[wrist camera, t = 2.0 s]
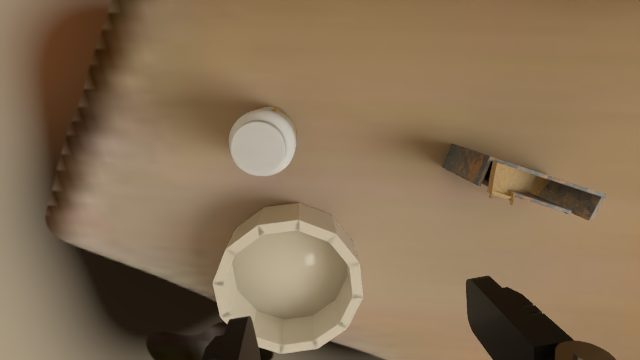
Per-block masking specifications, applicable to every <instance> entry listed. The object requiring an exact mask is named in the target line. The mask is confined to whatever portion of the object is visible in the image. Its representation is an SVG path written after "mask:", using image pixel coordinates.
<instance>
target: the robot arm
mask: <svg viewBox="0 0 640 360" xmlns="http://www.w3.org/2000/svg"><path fill="white" fill-rule="evenodd" d="M466 296H467V315H468V321H469V324H470V327H471V329H472V331H473V333H474V335H475V336H476V337H477V339H478V340H479V341H480V343H481V344H482V345H483V347H484V348H485V349H486V351H487V352H488V354H489V355H490V356H491V358H492V359H493V360H616V359H615V358H614V357H613V356H612V355H611V354H610V353H608V352H607V351H605V350H604V349H602V348H600V347H598V346H595V345H593V344H590V343H586V342H582V341H574V340H573V339H572V338H571V337H570V336H569V335H567V334H566V333H565V332H564V331H563V330H562V329H561V328H560V327H558V326H557V325H556V324H555V323H554V322H553V321H552V320H551V319H549V318H548V317H547V316H546V315H545V314H542V312H541V311H540V310H539V309H538V308H537V307H536V306H533V303H531V302H530V301H529V300H528V299H527V298H526V297H525V296H523V295H522V294H521V293H518V292H516V291H514V290H512V289H510V288H508V287H505V288H502V287H501V286H500V285H498V284H497V283H496V282H495V281H494V280H493V279H492V278H491V277H490V276H484V277H478V278H472V279H468V280H467V281H466ZM202 360H260V352H259V347H258V343H257V339H256V334H255V330H254V326H253V321H252V318H251V316H245V317H240V318H234V319H230V320H229V321H228V324H227V327H226V330H225V333H224V335H221V336H215V338H214V339H213V340H212V341H211V342H210V344H209V345H208V346H207V347H206V349H205V351H204V354H203V357H202Z"/></svg>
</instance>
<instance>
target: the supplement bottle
mask: <svg viewBox="0 0 640 360" xmlns="http://www.w3.org/2000/svg"><path fill="white" fill-rule="evenodd" d="M296 140H297V131H296V127H295V124H294V122H293V120H292V118H291V117H290V116H289V115H288V114H287V113H286V112H284V111H283V110H281V109H279V108H276V107H261V108H258V109H256V110H253V111H250V112H248V113H246V114H244V115H242V116H241V117H240V118H239V119H238V120H237V121H236V122H235V123H234V125H233V127H232V129H231V131H230V135H229V149H230V152H231V156H232V158H233V160H234V162H235V164H236V165H237V166H238V167H239V168H240V169H241V170H243V171H244V172H246V173H248V174H251V175H256V176H270V175H274V174H276V173H279V172H280V171H282V170H283V169H285V168H286V167H287V166H288V164H289V163H290V162H291V160H292V158H293V156H294V153H295V149H296Z"/></svg>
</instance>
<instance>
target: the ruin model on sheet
mask: <svg viewBox="0 0 640 360" xmlns="http://www.w3.org/2000/svg"><path fill="white" fill-rule="evenodd" d="M491 161H493V163H492V167H491V172H490V178H486V177H485V174H486V172H487V170H488V168H489V165H490V163H491ZM443 168H445V169H447V170H449V171H451V172H453V173H455V174H456V175H458V176H460V177H462V178H464V179H466V180H468V181H470V182H472V183H474V184H476V185H478V186H481V183H482V184H484V185H486V186H488V191H487V192H489V193H490V196H489V198H491V199H492V195H494V196H498V197H501V198H504V199H507V200H510V201H511V202H510V204H511V205H513V204H514V196H515V197H518V198H521V199H524V200H528V201H531V202H534V203H537V204H540V205H543V206H547V207H550V208H553V209H556V210H559V211H562V212H564V213H567V214H571V213H573V214H575V215H577V216H580V217H582V218H584V219H586V220H589V221H592V220H593V219H594V217H595V215H596V213H597V211H598V209H599V207H600V205H601V204H602V202H603V200H604V198H605V196H606V194H603V193H600V192H597V191H594V190H591V189H588V188H585V187H582V186H579V185H576V184H573V183H570V182H567V181H564V180H560V179H557V178H554V177H551V176H548V175H545V174H542V173H539V172H536V171H533V170H530V169H527V168H524V167H521V166H518V165H515V164H512V163H509V162H506V161H503V160H500V159H497V158H494V157H491V156H488V155H485V154H482V153H479V152H476V151H473V150H470V149H467V148H463V147H460V146H457V145H454V144H452V146H451V148H450V150H449V153H448V155H447V158H446V160H445V163H444V165H443Z"/></svg>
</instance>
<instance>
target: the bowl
mask: <svg viewBox="0 0 640 360" xmlns="http://www.w3.org/2000/svg"><path fill="white" fill-rule="evenodd" d="M213 288H214V292H215V296H216V301H217V305H218V309H219V314H220V317H221V319H222V320H224V322H225V323H226V324H228V321H229V320H230V319H234V318H240V317H245V316H251V318H252V321H253V326H254V330H255V334H256V339H257V343H258V347H261V348H264V349H267V350H270V351H273V352H277V353H280V354H283V353H290V352H297V351H304V350H311V349H318V348H319V347H321V346H322V345H324V344H325V343H327V342H328V341H330V340H331V339H333V338H334V337H336V336H337V335H338V334H340V333H341V332H343V331H344V330H346V329H347V328H348V326H349V324H350V322H351V320H352V319H353V317H354V315H355V313H356V311H357V309H358V307H359V305H360V303H361V301H362V299H363V291H362V282H361V272H360V262H359V259H358V257H357V254H356V251H355V248H354V245H353V242H352V240H351V239H350V238H349V236H348V235H347V234H346V233H345V231H344V230H343V229H342V228H341V226H340V225H339V224H338V223H337V221H336V220H335V219H334V218H333V216H332V215H330V214H327V213H325V212H322V211H319V210H317V209H314V208H312V207H309V206H306V205H304V204H301V203H293V204H285V205H278V206H270V207H263V208H262V209H261V210H259V211H258V212H257V213H255V214H254V215H253V216H251V217H250V218H249V219H247V220H246V221H245V222H243V223H242V224H241V225H239V226H238V227H237V228H236V229H235V231H234V233H233V235H232V237H231V239H230V241H229V243H228V245H227V247H226V250H225V252H224V255H223V257H222V260H221V262H220V265H219V268H218V270H217V273H216V275H215V278H214V280H213Z"/></svg>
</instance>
